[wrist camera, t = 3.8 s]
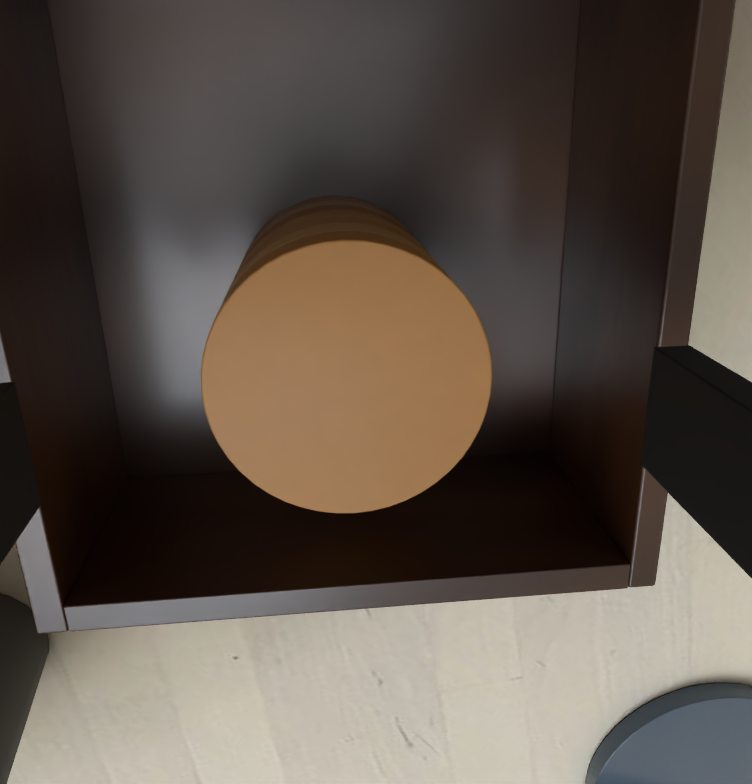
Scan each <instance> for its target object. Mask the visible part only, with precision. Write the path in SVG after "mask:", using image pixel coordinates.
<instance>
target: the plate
mask: <svg viewBox="0 0 752 784" xmlns="http://www.w3.org/2000/svg"><path fill="white" fill-rule="evenodd" d="M586 784H752V686H747V685H742V684H734V683H710V684H703V685H696V686H692V687H688V688H684V689H680V690H677V691H674V692H671V693H668V694H666V695H663V696H661V697H659V698H657V699H655V700H652V701H651V702H649V703H647V704H645V705H644V706H642V707H640V708H638V709H637V710H636V711H634V712H633V713H631V714H630V715H629V716H627V717H626V718H625V719H624V720H623V721H621V722H620V723H619V724H618V725H617V726H616V727H615V728H614V729H613V730H612V731H611V732H610V733H609V734H608V735H607V737H606V738H605V739H604V741H603V742H602V743H601V745H600V746H599V748H598V749H597V751H596V753H595V755H594V757H593V758H592V761H591V763H590V766H589V769H588V772H587V777H586Z"/></svg>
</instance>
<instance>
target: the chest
mask: <svg viewBox="0 0 752 784" xmlns="http://www.w3.org/2000/svg"><path fill="white" fill-rule="evenodd" d="M735 2H736V0H0V383H3V382H15V386H16V390H17V395H18V399H19V404H20V408H21V413H22V417H23V422H24V426H25V431H26V435H27V440H28V444H29V449H30V453H31V458H32V462H33V467H34V471H35V475H36V480H37V484H38V489H39V493H40V498H41V502H42V504H41V506H40V507H39V509H38V510H37V512H36V513H35V514H34V516H33V517H32V519H31V520H30V522H29V523H28V525H27V526H26V528H25V529H24V531H23V532H22V534H21V535H20V536H19V538H18V539H17V541H16V542H15V543H16V548H17V552H18V556H19V560H20V564H21V568H22V572H23V576H24V581H25V585H26V589H27V593H28V597H29V601H30V605H31V609H32V614H33V618H34V622H35V626H36V630H37V633H38V634H40V633H53V632H66V631H68V630H69V631H81V630H94V629H107V628H120V627H132V626H145V625H158V624H171V623H184V622H197V621H210V620H223V619H236V618H249V617H262V616H275V615H287V614H300V613H313V612H326V611H339V610H352V609H365V608H378V607H391V606H404V605H417V604H430V603H442V602H455V601H468V600H481V599H494V598H507V597H520V596H533V595H546V594H559V593H572V592H585V591H598V590H610V589H623V588H627V587H641V586H653V585H654V584H655V580H656V573H657V566H658V559H659V552H660V544H661V537H662V530H663V523H664V515H665V508H666V501H667V494H668V492H667V491H666V490H665V489H664V488H663V487H662V486H661V485H660V484H659V483H658V481H657V480H656V479H655V478H654V477H653V476H652V475H651V474H650V473H649V472H648V471H647V470H646V469H645V468H644V467H643V466H642V465H641V464H640V460H641V451H642V443H643V435H644V427H645V419H646V410H647V402H648V394H649V386H650V377H651V369H652V361H653V353H654V347H668V346H686V345H688V342H689V334H690V327H691V320H692V313H693V306H694V298H695V291H696V284H697V277H698V269H699V262H700V255H701V248H702V240H703V233H704V226H705V219H706V211H707V204H708V197H709V190H710V183H711V175H712V168H713V161H714V154H715V146H716V139H717V132H718V125H719V117H720V110H721V103H722V96H723V88H724V81H725V74H726V67H727V59H728V52H729V45H730V38H731V31H732V23H733V16H734V9H735ZM325 196H345V197H351V198H357V199H360V200H363V201H366V202H369V203H371V204H374V205H376V206H378V207H380V208H382V209H383V210H385V211H386V212H388V213H390V214H391V215H392V216H394V217H395V218H396V219H397V220H398V221H399V222H401V223H402V224H403V226H404V227H405V228H406V229H407V230H408V231H409V232H410V233H411V234H412V236H413V237H414V238H415V239H416V240H417V241H418V242H419V243H420V245H421V246H422V247H423V248H424V249H425V250H426V251H427V252H428V253H429V255H430V256H431V257H432V258H433V259H434V260H435V261H436V262H437V263H438V265H439V266H440V267H441V268H442V269H443V270H444V271H445V272H446V274H447V275H448V276H449V277H450V278H451V279H452V280H453V281H454V282H455V284H456V285H457V286H458V287H459V288H460V289H461V290H462V291H463V293H464V294H465V295H466V297H467V298H468V300H469V301H470V303H471V304H472V306H473V307H474V309H475V310H476V312H477V314H478V317H479V319H480V321H481V323H482V325H483V327H484V331H485V334H486V337H487V340H488V343H489V349H490V355H491V360H492V384H491V394H490V399H489V403H488V407H487V411H486V414H485V417H484V420H483V422H482V425H481V427H480V430H479V432H478V433H477V435H476V437H475V439H474V441H473V443H472V444H471V446H470V447H469V449H468V450H467V451H466V453H465V454H464V456H463V457H462V458H461V460H460V461H459V462H458V463H457V464H456V465H455V466H454V467H453V468H452V469H451V470H450V471H449V472H448V473H447V474H446V475H445V476H444V477H442V478H441V479H440V480H439V481H438V482H437V483H435V484H434V485H432V486H431V487H429V488H428V489H426V490H425V491H423V492H422V493H420V494H418V495H416V496H414V497H412V498H410V499H408V500H406V501H403V502H401V503H398V504H395V505H392V506H390V507H386V508H382V509H378V510H374V511H367V512H359V513H329V512H320V511H315V510H310V509H306V508H302V507H299V506H296V505H293V504H290V503H287V502H285V501H283V500H281V499H279V498H277V497H275V496H273V495H271V494H269V493H267V492H266V491H264V490H263V489H261V488H260V487H258V486H257V485H255V484H254V483H253V482H251V481H250V480H249V479H248V478H247V477H246V476H244V475H243V474H242V473H241V472H240V471H239V470H238V469H237V468H236V467H235V465H234V464H233V463H232V462H231V461H230V460H229V459H228V457H227V456H226V454H225V453H224V451H223V450H222V449H221V447H220V446H219V444H218V442H217V440H216V438H215V436H214V434H213V432H212V430H211V428H210V425H209V422H208V419H207V416H206V414H205V410H204V405H203V399H202V394H201V365H202V356H203V352H204V348H205V344H206V339H207V337H208V334H209V332H210V329H211V327H212V324H213V322H214V320H215V317H216V315H217V313H218V311H219V309H220V307H221V305H222V303H223V301H224V298H225V296H226V294H227V292H228V290H229V288H230V286H231V284H232V282H233V279H234V277H235V275H236V273H237V271H238V269H239V267H240V265H241V263H242V261H243V258H244V256H245V254H246V252H247V250H248V248H249V246H250V245H251V243H252V241H253V239H254V238H255V237H256V235H257V234H258V233H259V231H260V230H261V229H262V228H263V227H264V226H265V225H266V224H267V223H268V222H269V221H270V220H271V219H272V218H273V217H275V216H276V215H277V214H279V213H280V212H281V211H283V210H285V209H287V208H288V207H290V206H292V205H294V204H297V203H299V202H302V201H304V200H308V199H312V198H316V197H325Z"/></svg>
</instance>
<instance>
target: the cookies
mask: <svg viewBox="0 0 752 784" xmlns="http://www.w3.org/2000/svg"><path fill="white" fill-rule="evenodd" d="M491 384H492V360H491V355H490V349H489V343H488V340H487V337H486V334H485V331H484V327H483V325H482V323H481V321H480V319H479V317H478V314H477V312H476V310H475V309H474V307H473V306H472V304H471V303H470V301H469V300H468V298H467V297H466V295H465V294H464V293H463V291H462V290H461V289H460V288H459V287H458V286H457V285H456V284H455V282H454V281H453V280H452V279H451V278H450V277H449V276H448V275H447V274H446V272H445V271H444V270H443V269H442V268H441V267H440V266H439V265H438V263H437V262H436V261H435V260H434V259H433V258H432V257H431V256H430V255H429V253H428V252H427V251H426V250H425V249H424V248H423V247H422V246H421V245H420V243H419V242H418V241H417V240H416V239H415V238H414V237H413V236H412V234H411V233H410V232H409V231H408V230H407V229H406V228H405V227H404V226H403V224H402V223H401V222H399V221H398V220H397V219H396V218H395V217H394V216H392V215H391V214H390V213H388V212H386V211H385V210H383V209H382V208H380V207H378V206H376V205H374V204H371V203H369V202H366V201H363V200H360V199H357V198H351V197H345V196H325V197H316V198H312V199H308V200H304V201H302V202H299V203H297V204H294V205H292V206H290V207H288V208H287V209H285V210H283V211H281V212H280V213H279V214H277V215H276V216H275V217H273V218H272V219H271V220H270V221H269V222H268V223H267V224H266V225H265V226H264V227H263V228H262V229H261V230H260V231H259V233H258V234H257V235H256V237H255V238H254V239H253V241H252V243H251V245H250V246H249V248H248V250H247V252H246V254H245V256H244V258H243V261H242V263H241V265H240V267H239V269H238V271H237V273H236V275H235V277H234V279H233V282H232V284H231V286H230V288H229V290H228V292H227V294H226V296H225V298H224V301H223V303H222V305H221V307H220V309H219V311H218V313H217V315H216V317H215V320H214V322H213V324H212V327H211V329H210V332H209V334H208V337H207V339H206V344H205V348H204V352H203V356H202V365H201V394H202V399H203V405H204V410H205V414H206V416H207V419H208V422H209V425H210V428H211V430H212V432H213V434H214V436H215V438H216V440H217V442H218V444H219V446H220V447H221V449H222V450H223V451H224V453H225V454H226V456H227V457H228V459H229V460H230V461H231V462H232V463H233V464H234V465H235V467H236V468H237V469H238V470H239V471H240V472H241V473H242V474H243V475H244V476H246V477H247V478H248V479H249V480H250V481H251V482H253V483H254V484H255V485H257V486H258V487H260V488H261V489H263V490H264V491H266V492H267V493H269V494H271V495H273V496H275V497H277V498H279V499H281V500H283V501H285V502H287V503H290V504H293V505H296V506H299V507H302V508H306V509H310V510H315V511H320V512H329V513H359V512H367V511H374V510H378V509H382V508H386V507H390V506H392V505H395V504H398V503H401V502H403V501H406V500H408V499H410V498H412V497H414V496H416V495H418V494H420V493H422V492H423V491H425V490H426V489H428V488H429V487H431V486H432V485H434V484H435V483H437V482H438V481H439V480H440V479H441V478H442V477H444V476H445V475H446V474H447V473H448V472H449V471H450V470H451V469H452V468H453V467H454V466H455V465H456V464H457V463H458V462H459V461H460V460H461V458H462V457H463V456H464V454H465V453H466V451H467V450H468V449H469V447H470V446H471V444H472V443H473V441H474V439H475V437H476V435H477V433H478V432H479V430H480V427H481V425H482V422H483V420H484V417H485V414H486V411H487V407H488V403H489V399H490V394H491Z"/></svg>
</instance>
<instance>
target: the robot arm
mask: <svg viewBox="0 0 752 784" xmlns="http://www.w3.org/2000/svg"><path fill="white" fill-rule="evenodd" d="M640 464H641V465H642V466H643V467H644V468H645V469H646V470H647V471H648V472H649V473H650V474H651V475H652V476H653V477H654V478H655V479H656V480H657V481H658V483H659V484H660V485H661V486H662V487H663V488H664V489H665V490H666V491H667V492H668V493H669V494H670V495H671V496H672V497H673V498H674V499H675V500H676V501H677V502H678V503H679V504H680V505H681V506H682V507H683V508H684V509H685V510H686V511H687V512H688V513H689V514H690V515H691V516H692V517H693V519H694V520H695V521H696V522H697V523H698V524H699V525H700V526H701V527H702V528H703V529H704V530H705V531H706V532H707V533H708V534H709V535H710V536H711V537H712V538H713V539H714V540H715V541H716V542H717V543H718V544H719V545H720V546H721V547H722V548H723V549H724V550H725V551H726V552H727V553H728V555H729V556H730V557H731V558H732V559H733V560H734V561H735V562H736V563H737V564H738V565H739V566H740V567H741V568H742V569H743V570H744V571H745V572H746V573H747V574H748V575H749V576H750V577H751V578H752V382H750V381H748V380H747V379H745V378H743V377H742V376H740V375H738V374H736V373H735V372H733V371H731V370H730V369H728V368H726V367H725V366H723V365H721V364H720V363H718V362H716V361H714V360H713V359H711V358H709V357H708V356H706V355H704V354H703V353H701V352H699V351H698V350H696V349H694V348H692V347H691V346H689V345H686V346H668V347H654V353H653V361H652V369H651V377H650V386H649V394H648V402H647V410H646V419H645V427H644V435H643V443H642V451H641V460H640ZM41 504H42V502H41V498H40V493H39V489H38V484H37V480H36V475H35V471H34V467H33V462H32V458H31V453H30V449H29V444H28V440H27V435H26V431H25V426H24V422H23V417H22V413H21V408H20V404H19V399H18V395H17V390H16V386H15V382H3V383H0V564H1V563H2V561H3V560H4V558H5V557H6V556H7V554H8V553H9V551H10V550H11V548H12V547H13V545H14V544H15V542H16V541H17V539H18V538H19V536H20V535H21V534H22V532H23V531H24V529H25V528H26V526H27V525H28V523H29V522H30V520H31V519H32V517H33V516H34V514H35V513H36V512H37V510H38V509H39V507H40V506H41Z"/></svg>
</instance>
